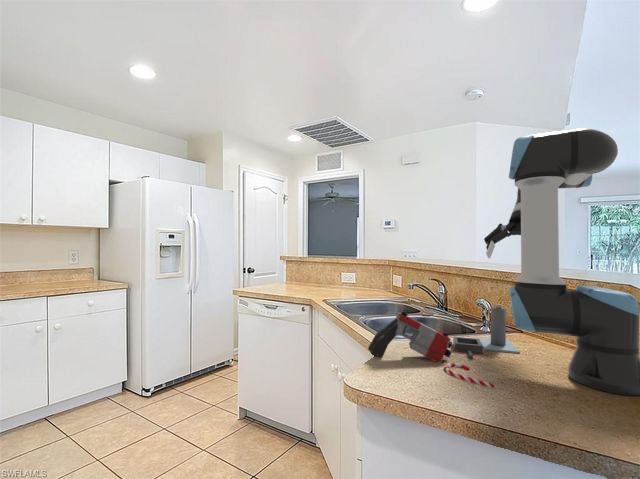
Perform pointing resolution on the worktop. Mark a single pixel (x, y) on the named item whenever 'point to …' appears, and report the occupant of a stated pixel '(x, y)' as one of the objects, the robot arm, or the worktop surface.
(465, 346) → the grey recessed block
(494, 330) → the rod
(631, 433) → the worktop surface
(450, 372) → the candy cane
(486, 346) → the slate mat
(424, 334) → the toy gun
